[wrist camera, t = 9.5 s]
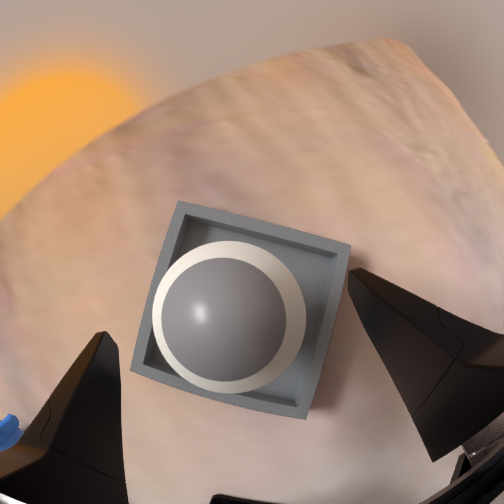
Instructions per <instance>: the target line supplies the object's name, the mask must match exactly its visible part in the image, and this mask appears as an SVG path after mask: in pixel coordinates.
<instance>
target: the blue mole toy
mask: <svg viewBox="0 0 504 504" xmlns="http://www.w3.org/2000/svg"><path fill="white" fill-rule="evenodd" d="M18 426H19V420H18V418H17V417H16V416H14V415H11V414H8V415H7V416H6V417H5V418H4V419H3V420H0V451H3V450H6V449H9V448H11V447H12V446H14V445H15V444H16V443H17V441H18V440H19V439H20V437H21V436H22V435H23V433H24V431H23V430H21V429H20V428H18Z"/></svg>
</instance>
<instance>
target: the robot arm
mask: <svg viewBox="0 0 504 504" xmlns="http://www.w3.org/2000/svg"><path fill="white" fill-rule="evenodd" d="M348 292H349V295H350V297H351V299H352V301H353V304H354V306H355V308H356V310H357V313H358V315H359V317H360V320H361V322H362V324H363V327H364V328H365V330H366V332H367V334H368V336H369V338H370V339H371V341H372V343H373V345H374V346H375V348H376V350H377V352H378V354H379V355H380V357H381V359H382V361H383V363H384V365H385V367H386V368H387V370H388V372H389V374H390V376H391V378H392V380H393V382H394V384H395V385H396V387H397V389H398V391H399V393H400V395H401V397H402V399H403V401H404V403H405V405H406V407H407V409H408V411H409V413H410V415H411V417H412V420H413V422H414V424H415V426H416V428H417V430H418V432H419V434H420V436H421V438H422V441H423V443H424V445H425V447H426V449H427V452H428V454H429V456H430V458H431V460H432V462H435V461H437V460H438V459H440V458H442V457H443V456H445V455H447V454H448V453H450V452H451V451H453V450H454V449H456V448H457V447H459V446H460V445H462V447H463V449H464V451H465V452H464V453H462V454H461V455H460V456H459V458H458V461H457V464H456V467H455V470H454V473H453V476H452V479H451V481H450V485H448V486H447V487H445V488H444V489H442V490H441V491H439V492H438V493H436V494H434V495H433V496H431V497H429V498H428V499H426V500H424V501H423V502H421V503H419V504H504V334H498V333H495V332H492V331H490V330H488V329H485V328H483V327H481V326H478V325H476V324H474V323H471V322H469V321H467V320H464V319H462V318H460V317H458V316H456V315H454V314H452V313H450V312H448V311H446V310H444V309H442V308H440V307H437V306H436V305H434V304H432V303H430V302H428V301H426V300H424V299H422V298H420V297H419V296H417V295H415V294H413V293H411V292H409V291H407V290H405V289H403V288H401V287H399V286H397V285H395V284H393V283H391V282H389V281H387V280H385V279H383V278H381V277H379V276H377V275H375V274H373V273H371V272H369V271H367V270H364V269H362V268H360V267H359V268H355V269H352V270H350V271H349V274H348ZM125 482H126V480H125V471H124V460H123V447H122V427H121V378H120V365H119V350H118V346H117V344H116V343H115V342H114V340H113V339H112V338H111V336H110V335H109V334H108V332H106V331H102V332H98V333H96V334H95V335H94V336H93V338H92V339H91V340H90V342H89V343H88V344H87V346H86V347H85V348H84V350H83V351H82V352H81V354H80V355H79V356H78V358H77V359H76V360H75V362H74V363H73V364H72V366H71V367H70V369H69V370H68V371H67V373H66V374H65V375H64V377H63V378H62V380H61V381H60V383H59V384H58V385H57V387H56V388H55V390H54V391H53V393H52V394H51V396H50V397H49V399H48V400H47V401H46V403H45V404H44V406H43V407H42V409H41V410H40V412H39V413H38V415H37V416H36V417H35V419H34V420H33V421H32V423H31V424H30V425H29V427H28V428H27V429H26V431H25V432H24V433H23V435H22V436H21V437H20V439H19V440H18V441H17V443H16V444H15V445H14V446H12V447H11V448H9V449H6V450H3V451H0V504H129V502H128V495H127V488H126V483H125ZM216 499H219V500H216ZM210 504H268V503H261V502H254V501H248V500H242V499H237V498H232V497H227V496H222V495H213V496H212V498H211V501H210Z"/></svg>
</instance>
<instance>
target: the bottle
mask: <svg viewBox="0 0 504 504" xmlns="http://www.w3.org/2000/svg"><path fill="white" fill-rule="evenodd" d="M152 322H153V330H154V335H155V338H156V341H157V344H158V346H159V349H160V351H161V353H162V354H163V356H164V358H165V359H166V361H167V362H168V363H169V365H170V366H171V367H172V368H173V369H174V370H175V371H176V372H177V373H178V374H179V375H180V376H181V377H183V378H184V379H186V380H187V381H188V382H190V383H192V384H194V385H196V386H198V387H200V388H203V389H206V390H209V391H213V392H217V393H227V394H229V393H242V392H248V391H251V390H255V389H258V388H260V387H262V386H264V385H266V384H268V383H270V382H271V381H273V380H274V379H276V378H277V377H278V376H279V375H281V374H282V373H283V372H284V371H285V370H286V369H287V368H288V367H289V365H290V364H291V363H292V361H293V360H294V358H295V357H296V355H297V353H298V351H299V349H300V347H301V344H302V341H303V338H304V334H305V329H306V308H305V303H304V298H303V295H302V292H301V289H300V287H299V285H298V283H297V281H296V279H295V278H294V276H293V275H292V273H291V272H290V270H289V269H288V268H287V267H286V266H285V265H284V264H283V263H282V262H281V261H280V260H279V259H278V258H276V257H275V256H274V255H272V254H271V253H269V252H268V251H266V250H264V249H262V248H259V247H257V246H254V245H251V244H248V243H243V242H238V241H219V242H213V243H208V244H205V245H202V246H199V247H197V248H195V249H193V250H191V251H189V252H188V253H186V254H185V255H183V256H182V257H181V258H179V259H178V260H177V261H176V262H175V263H174V264H173V265H172V266H171V267H170V268H169V270H168V271H167V272H166V274H165V275H164V277H163V278H162V280H161V282H160V284H159V286H158V289H157V292H156V294H155V298H154V303H153V311H152Z"/></svg>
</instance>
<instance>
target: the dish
mask: <svg viewBox="0 0 504 504" xmlns="http://www.w3.org/2000/svg"><path fill="white" fill-rule="evenodd" d="M219 241H238V242H243V243H248V244H251V245H254V246H257V247H259V248H262V249H264V250H266V251H268V252H269V253H271V254H272V255H274V256H275V257H276V258H278V259H279V260H280V261H281V262H282V263H283V264H284V265H285V266H286V267H287V268H288V269H289V270H290V272H291V273H292V275H293V276H294V278H295V279H296V281H297V283H298V285H299V287H300V289H301V292H302V295H303V298H304V303H305V308H306V329H305V334H304V338H303V341H302V344H301V347H300V349H299V351H298V353H297V355H296V357H295V358H294V360H293V361H292V363H291V364H290V365H289V367H288V368H287V369H286V370H285V371H284V372H283V373H282V374H281V375H279V376H278V377H277V378H276V379H274V380H273V381H271V382H270V383H268V384H266V385H264V386H262V387H260V388H258V389H255V390H251V391H248V392H242V393H229V394H227V393H217V392H213V391H209V390H206V389H203V388H200V387H198V386H196V385H194V384H192V383H190V382H188V381H187V380H186V379H184V378H183V377H181V376H180V375H179V374H178V373H177V372H176V371H175V370H174V369H173V368H172V367H171V366H170V365H169V363H168V362H167V361H166V359H165V358H164V356H163V354H162V353H161V351H160V349H159V346H158V344H157V341H156V338H155V335H154V330H153V322H152V311H153V303H154V298H155V294H156V292H157V289H158V286H159V284H160V282H161V280H162V278H163V277H164V275H165V274H166V272H167V271H168V270H169V268H170V267H171V266H172V265H173V264H174V263H175V262H176V261H177V260H178V259H179V258H181V257H182V256H183V255H185V254H186V253H188V252H189V251H191V250H193V249H195V248H197V247H199V246H202V245H205V244H208V243H213V242H219ZM350 249H351V245H349V244H345V243H342V242H338V241H335V240H331V239H328V238H324V237H320V236H317V235H313V234H309V233H306V232H302V231H298V230H295V229H291V228H287V227H284V226H280V225H276V224H272V223H268V222H264V221H261V220H257V219H253V218H249V217H245V216H241V215H237V214H233V213H229V212H225V211H221V210H217V209H213V208H208V207H204V206H200V205H196V204H192V203H187V202H183V201H179V200H178V202H177V205H176V208H175V211H174V214H173V216H172V219H171V222H170V225H169V228H168V231H167V234H166V237H165V240H164V243H163V247H162V250H161V253H160V256H159V259H158V263H157V266H156V269H155V273H154V276H153V279H152V283H151V286H150V290H149V294H148V297H147V301H146V305H145V308H144V312H143V316H142V320H141V324H140V328H139V332H138V337H137V341H136V345H135V350H134V354H133V359H132V363H131V368H130V371H132V372H135V373H137V374H140V375H142V376H145V377H147V378H150V379H152V380H155V381H158V382H160V383H163V384H166V385H169V386H171V387H174V388H177V389H180V390H183V391H186V392H189V393H192V394H196V395H199V396H202V397H206V398H209V399H212V400H216V401H219V402H223V403H227V404H231V405H235V406H239V407H243V408H247V409H251V410H256V411H260V412H265V413H270V414H275V415H280V416H286V417H292V418H298V419H304V420H306V418H307V415H308V412H309V409H310V406H311V403H312V400H313V397H314V394H315V391H316V388H317V385H318V381H319V378H320V375H321V372H322V368H323V365H324V361H325V358H326V354H327V351H328V347H329V343H330V340H331V336H332V332H333V328H334V324H335V320H336V316H337V312H338V307H339V303H340V299H341V294H342V290H343V285H344V280H345V275H346V270H347V265H348V260H349V255H350Z"/></svg>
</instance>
